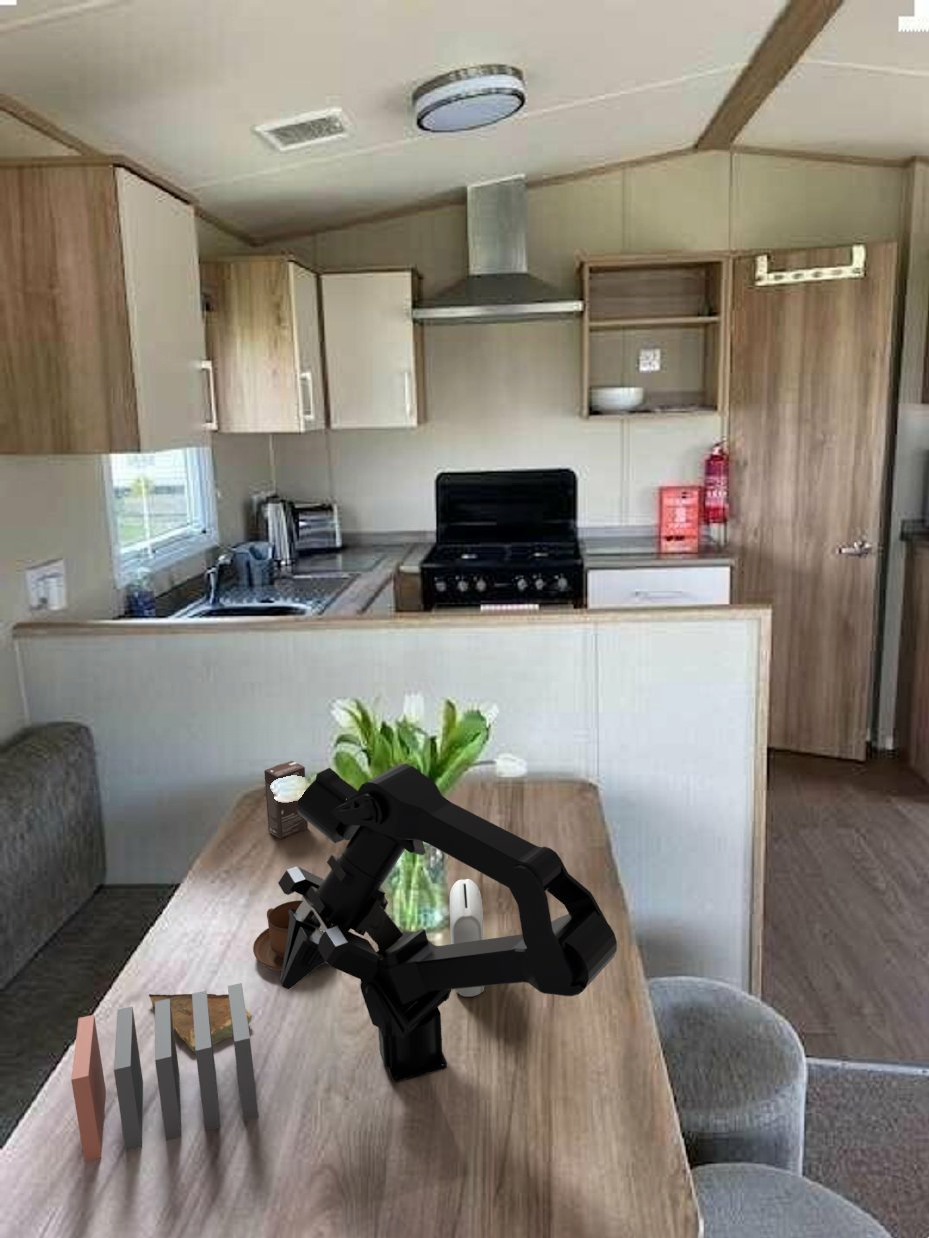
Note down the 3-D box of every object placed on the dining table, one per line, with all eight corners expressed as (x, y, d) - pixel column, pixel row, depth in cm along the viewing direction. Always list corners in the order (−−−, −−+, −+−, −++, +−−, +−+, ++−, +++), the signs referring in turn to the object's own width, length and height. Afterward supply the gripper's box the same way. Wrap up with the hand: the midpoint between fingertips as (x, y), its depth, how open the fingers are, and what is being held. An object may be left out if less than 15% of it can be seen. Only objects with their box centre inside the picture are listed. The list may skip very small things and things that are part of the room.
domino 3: (179, 1073, 108) (169, 998, 106) (181, 1136, 99) (171, 1056, 96) (164, 1076, 108) (154, 1001, 105) (165, 1141, 98) (155, 1060, 96)
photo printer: (451, 951, 129) (448, 871, 126) (482, 950, 129) (479, 869, 126) (453, 999, 119) (449, 913, 116) (486, 997, 120) (483, 911, 116)
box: (282, 840, 163) (276, 776, 160) (268, 832, 166) (262, 769, 163) (310, 828, 167) (305, 765, 164) (296, 820, 170) (291, 759, 167)
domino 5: (249, 1056, 110) (241, 982, 108) (258, 1117, 101) (249, 1037, 99) (235, 1060, 110) (227, 985, 108) (243, 1121, 101) (234, 1041, 98)
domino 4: (214, 1064, 109) (206, 990, 107) (220, 1127, 100) (211, 1046, 98) (200, 1068, 109) (191, 993, 106) (205, 1130, 100) (195, 1050, 97)
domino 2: (143, 1082, 107) (132, 1006, 105) (142, 1147, 98) (130, 1065, 95) (128, 1085, 106) (117, 1009, 104) (125, 1151, 97) (113, 1069, 95)
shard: (149, 1006, 121) (148, 991, 120) (216, 977, 126) (215, 963, 126) (191, 1060, 111) (189, 1044, 110) (262, 1025, 116) (260, 1010, 116)
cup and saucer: (237, 971, 127) (232, 930, 126) (282, 923, 138) (279, 886, 136) (315, 987, 123) (311, 946, 122) (355, 937, 134) (353, 898, 132)
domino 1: (106, 1090, 106) (94, 1014, 103) (101, 1157, 97) (88, 1075, 94) (90, 1094, 105) (78, 1017, 103) (84, 1161, 96) (71, 1079, 94)
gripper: (451, 933, 100) (369, 1059, 99) (385, 858, 117) (315, 965, 115) (373, 895, 95) (285, 1028, 94) (316, 821, 111) (241, 934, 110)
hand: (284, 986), depth 103 cm, fingers closed
